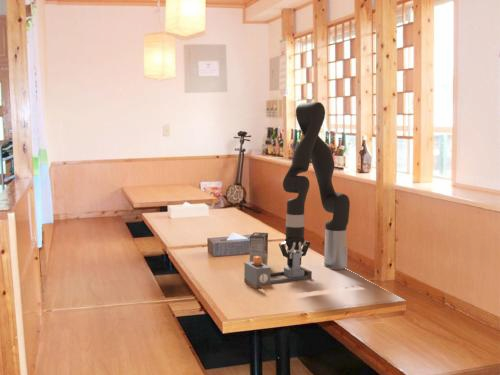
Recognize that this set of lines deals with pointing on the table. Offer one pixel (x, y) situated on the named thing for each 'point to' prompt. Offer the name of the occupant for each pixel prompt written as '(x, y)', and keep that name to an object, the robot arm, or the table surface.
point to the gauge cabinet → (257, 273)
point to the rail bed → (306, 273)
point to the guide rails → (286, 278)
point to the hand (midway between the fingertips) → (294, 266)
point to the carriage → (294, 267)
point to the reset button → (257, 260)
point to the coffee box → (259, 246)
